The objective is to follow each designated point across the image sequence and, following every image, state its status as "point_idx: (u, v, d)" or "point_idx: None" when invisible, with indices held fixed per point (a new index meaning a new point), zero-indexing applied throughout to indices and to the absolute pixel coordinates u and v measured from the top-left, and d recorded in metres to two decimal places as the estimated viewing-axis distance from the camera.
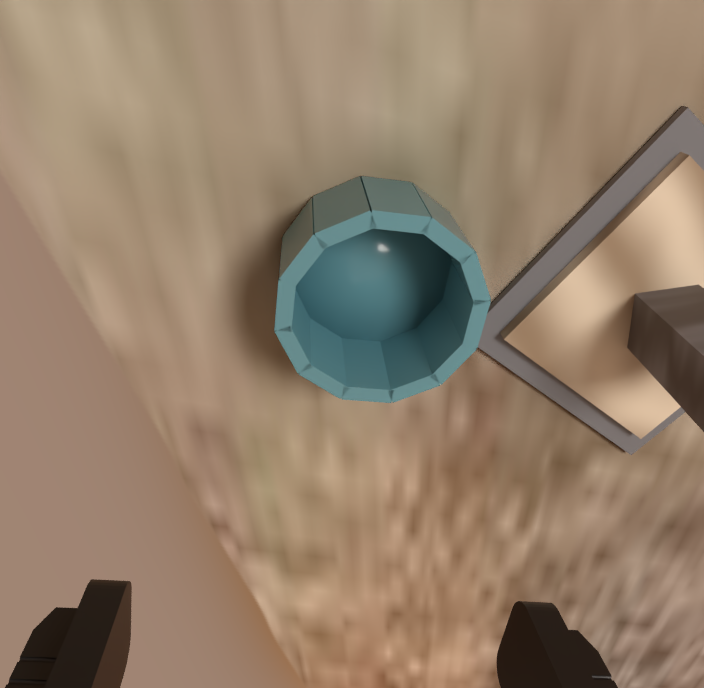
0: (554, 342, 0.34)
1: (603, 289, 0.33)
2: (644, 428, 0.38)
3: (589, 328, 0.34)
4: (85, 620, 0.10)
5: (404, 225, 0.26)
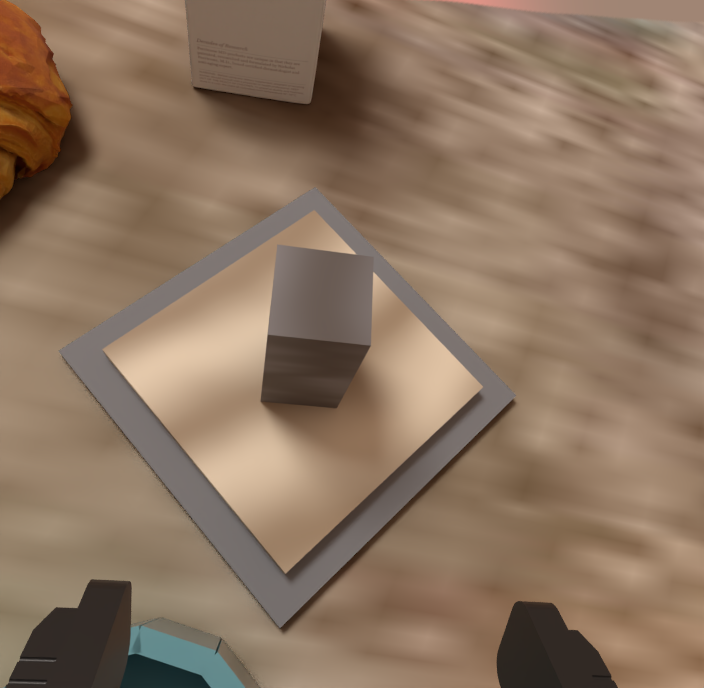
0: (307, 502, 0.26)
1: (244, 439, 0.27)
2: (466, 383, 0.30)
3: (296, 455, 0.27)
4: (85, 620, 0.10)
5: None
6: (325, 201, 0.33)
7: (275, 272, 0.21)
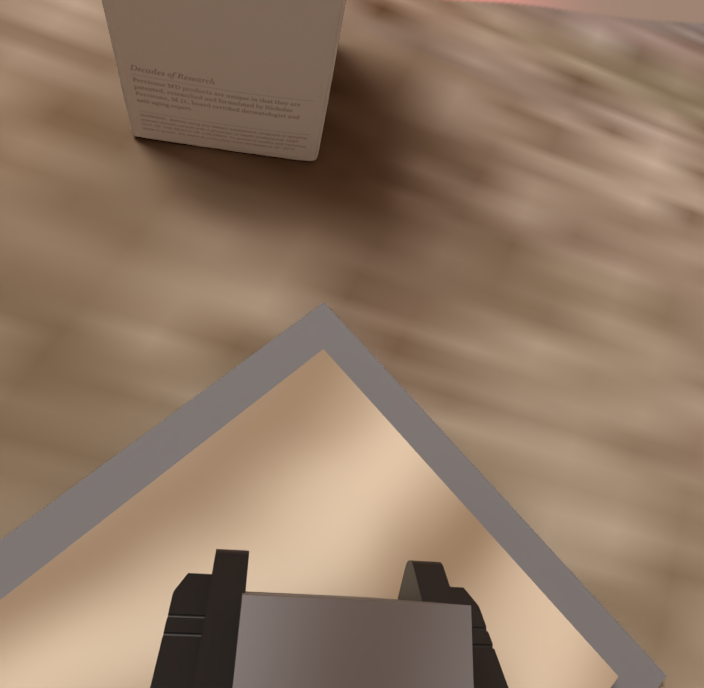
0: None
1: None
2: (590, 671, 0.17)
3: None
4: (221, 582, 0.11)
5: None
6: (340, 326, 0.21)
7: (236, 682, 0.08)
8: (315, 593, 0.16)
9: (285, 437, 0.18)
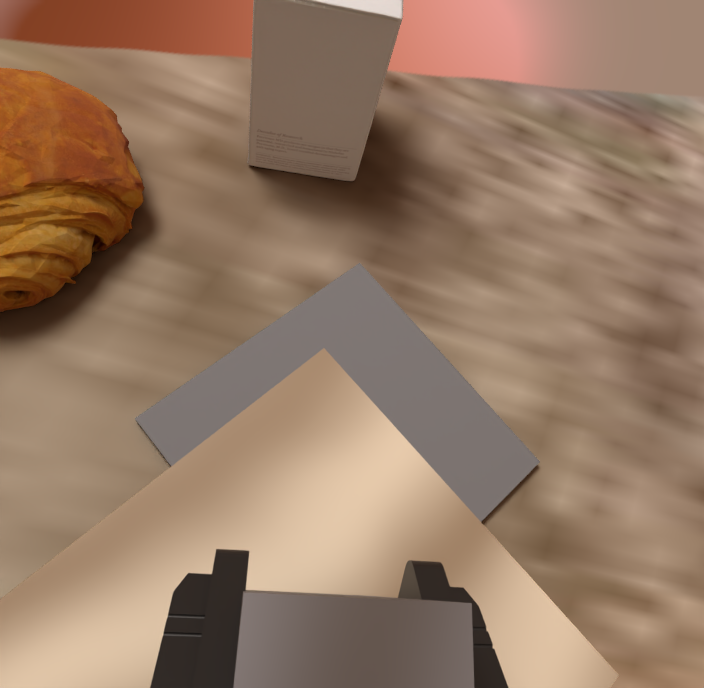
0: None
1: None
2: (590, 670, 0.17)
3: None
4: (221, 582, 0.11)
5: None
6: (369, 276, 0.37)
7: (237, 680, 0.08)
8: (316, 592, 0.16)
9: (285, 436, 0.18)
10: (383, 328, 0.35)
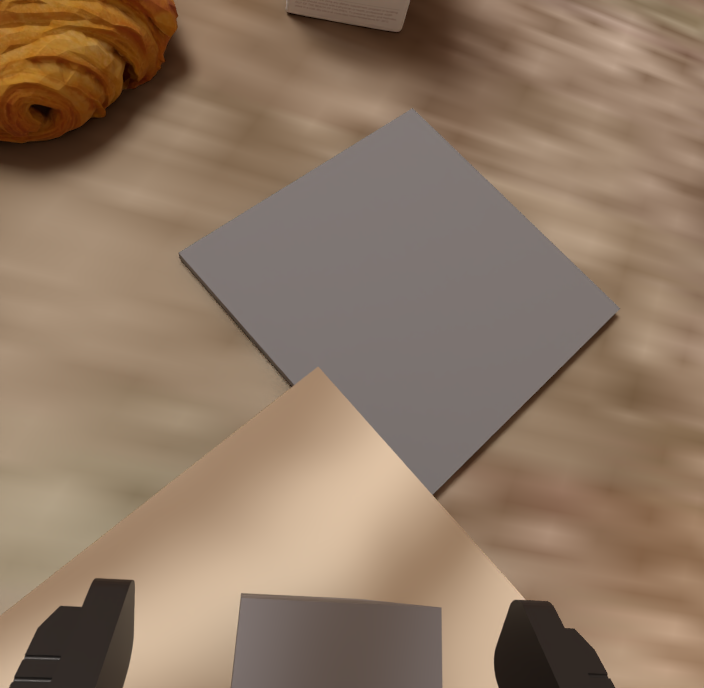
0: None
1: None
2: None
3: None
4: (89, 618, 0.10)
5: None
6: (423, 122, 0.33)
7: (235, 673, 0.10)
8: (309, 595, 0.18)
9: (281, 449, 0.19)
10: (442, 172, 0.32)
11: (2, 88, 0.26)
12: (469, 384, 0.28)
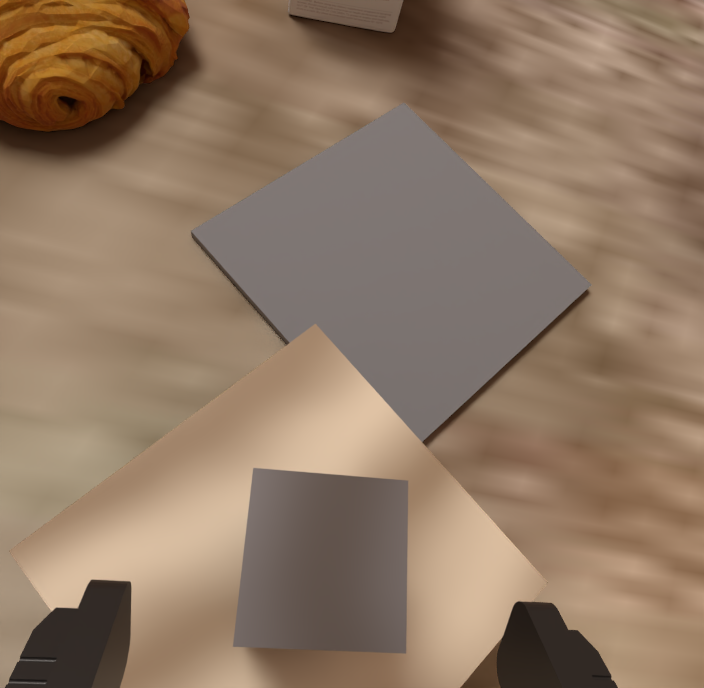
0: None
1: (211, 687, 0.18)
2: (525, 577, 0.21)
3: None
4: (85, 620, 0.10)
5: None
6: (413, 115, 0.37)
7: (249, 521, 0.13)
8: None
9: (283, 392, 0.22)
10: (430, 161, 0.35)
11: (34, 81, 0.29)
12: (452, 350, 0.31)
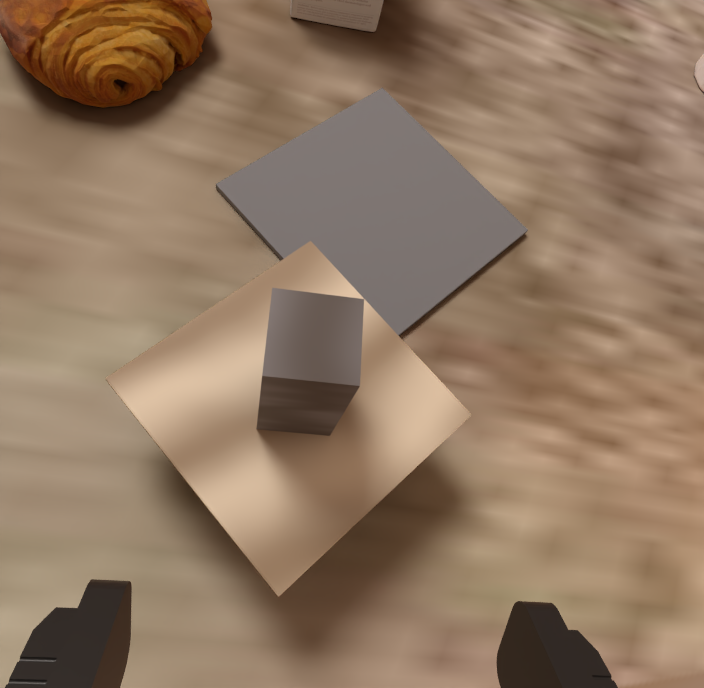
0: (300, 527, 0.27)
1: (240, 465, 0.28)
2: (455, 411, 0.31)
3: (290, 482, 0.28)
4: (85, 620, 0.10)
5: None
6: (390, 97, 0.46)
7: (270, 315, 0.22)
8: None
9: (287, 286, 0.32)
10: (402, 133, 0.45)
11: (97, 67, 0.38)
12: (416, 275, 0.40)
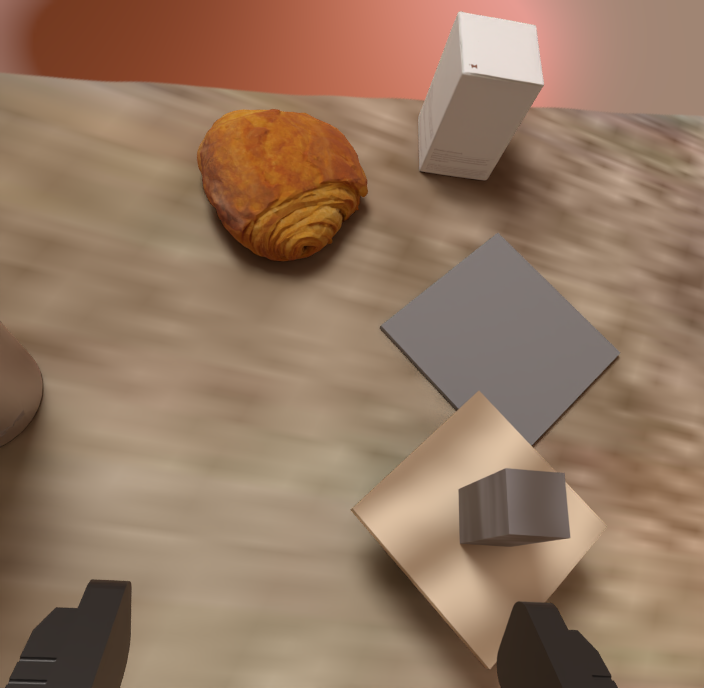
0: (498, 617, 0.38)
1: (452, 572, 0.39)
2: (595, 523, 0.42)
3: (487, 583, 0.39)
4: (85, 620, 0.10)
5: None
6: (504, 241, 0.57)
7: (507, 488, 0.33)
8: None
9: (467, 428, 0.43)
10: (517, 273, 0.56)
11: (295, 240, 0.49)
12: (538, 396, 0.51)
